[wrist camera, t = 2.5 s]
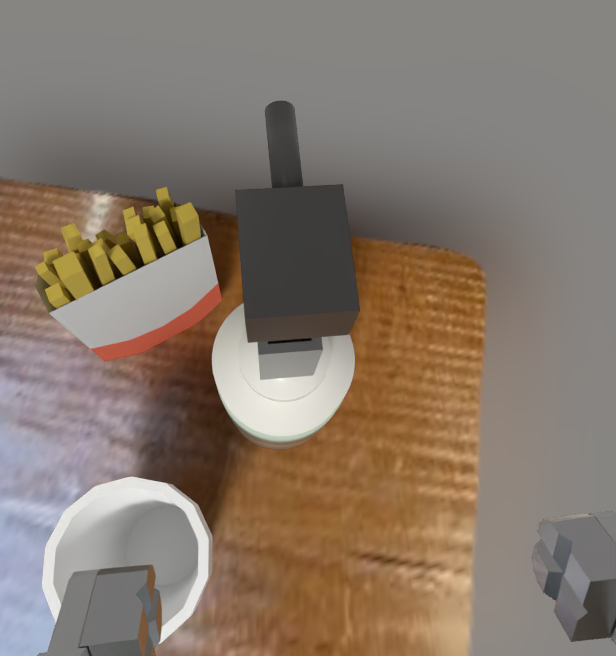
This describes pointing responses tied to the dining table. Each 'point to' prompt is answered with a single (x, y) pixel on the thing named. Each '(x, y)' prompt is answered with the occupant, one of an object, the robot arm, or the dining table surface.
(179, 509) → the foam cup
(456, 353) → the dining table surface
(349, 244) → the pump head
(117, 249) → the french fries container
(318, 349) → the syrup bottle
